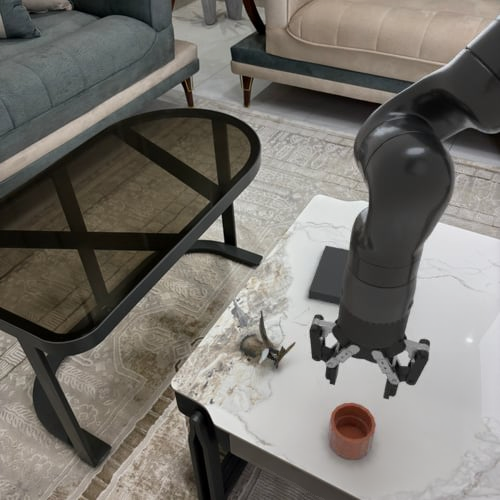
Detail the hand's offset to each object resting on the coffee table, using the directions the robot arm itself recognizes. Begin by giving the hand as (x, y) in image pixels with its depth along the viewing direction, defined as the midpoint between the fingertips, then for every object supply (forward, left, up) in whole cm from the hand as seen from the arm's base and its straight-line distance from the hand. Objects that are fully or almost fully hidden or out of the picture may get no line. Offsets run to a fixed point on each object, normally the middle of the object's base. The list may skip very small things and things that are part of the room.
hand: (359, 385), depth 65 cm
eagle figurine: (+17, -12, -14) cm, 25 cm away
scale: (+5, -34, -14) cm, 37 cm away
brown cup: (0, 0, -14) cm, 14 cm away
